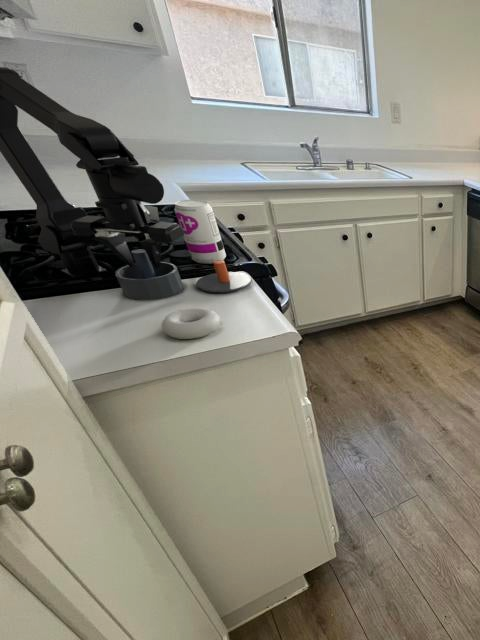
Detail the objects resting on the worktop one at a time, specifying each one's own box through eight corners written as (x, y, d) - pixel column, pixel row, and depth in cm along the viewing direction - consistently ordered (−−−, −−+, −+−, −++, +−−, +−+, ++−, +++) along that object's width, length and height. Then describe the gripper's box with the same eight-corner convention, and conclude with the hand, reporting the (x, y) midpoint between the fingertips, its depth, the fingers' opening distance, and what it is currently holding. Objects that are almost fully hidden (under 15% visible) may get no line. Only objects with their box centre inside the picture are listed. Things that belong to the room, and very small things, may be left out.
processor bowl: (114, 290, 96) (104, 269, 93) (166, 276, 105) (159, 257, 102) (141, 304, 93) (132, 284, 90) (193, 289, 101) (186, 270, 98)
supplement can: (208, 266, 112) (189, 209, 103) (184, 260, 114) (164, 202, 105) (233, 258, 118) (218, 203, 109) (211, 251, 120) (193, 197, 111)
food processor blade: (154, 294, 96) (138, 257, 91) (136, 293, 95) (119, 255, 90) (170, 283, 101) (156, 246, 96) (153, 282, 101) (137, 245, 95)
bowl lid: (187, 284, 102) (178, 261, 99) (233, 272, 111) (226, 249, 108) (217, 299, 99) (209, 274, 95) (262, 284, 107) (256, 262, 104)
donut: (153, 336, 84) (196, 346, 83) (145, 321, 82) (190, 331, 81) (193, 316, 92) (233, 324, 91) (187, 301, 90) (228, 309, 89)
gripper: (184, 191, 94) (206, 257, 103) (91, 182, 91) (122, 251, 100) (156, 203, 85) (182, 274, 94) (51, 193, 82) (89, 268, 91)
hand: (145, 266), depth 95 cm, fingers open, 5 cm apart
